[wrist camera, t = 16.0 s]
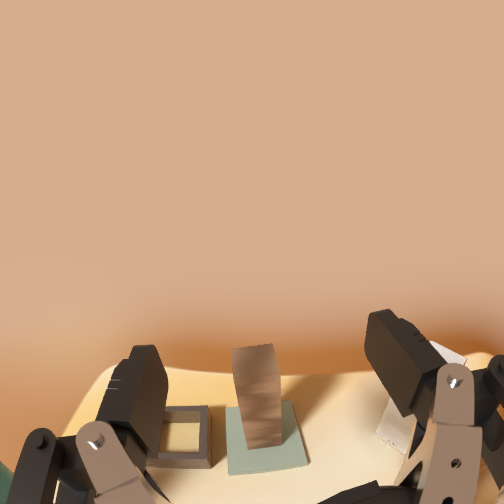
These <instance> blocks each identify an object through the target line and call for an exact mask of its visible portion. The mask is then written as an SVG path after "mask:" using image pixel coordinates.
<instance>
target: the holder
mask: <svg viewBox="0 0 504 504" xmlns="http://www.w3.org/2000/svg"><path fill="white" fill-rule="evenodd" d="M198 422H200V433H199V453H163V452H158V459H151V458H147V461H146V466H148V467H161V468H180V469H211V415H210V412H209V408H208V405H206V406H165V411H164V418H163V423H198Z"/></svg>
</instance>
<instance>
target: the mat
mask: <svg viewBox="0 0 504 504" xmlns="http://www.w3.org/2000/svg"><path fill="white" fill-rule="evenodd" d="M225 414H226V439H227V460H228V474H229V475H242V474H253V473H262V472H270V471H277V470H284V469H290V468H295V467H301V466H306V465H308V461H307V458H306V454H305V450H304V447H303V443H302V439H301V436H300V432H299V428H298V425H297V421H296V417H295V414H294V410H293V406H292V403H291V400H286V401H281V424H282V445H280V446H274V447H268V448H260V449H252V450H248V448H247V443H246V439H245V434H244V429H243V424H242V419H241V414H240V409H239V407H229V408H225Z"/></svg>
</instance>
